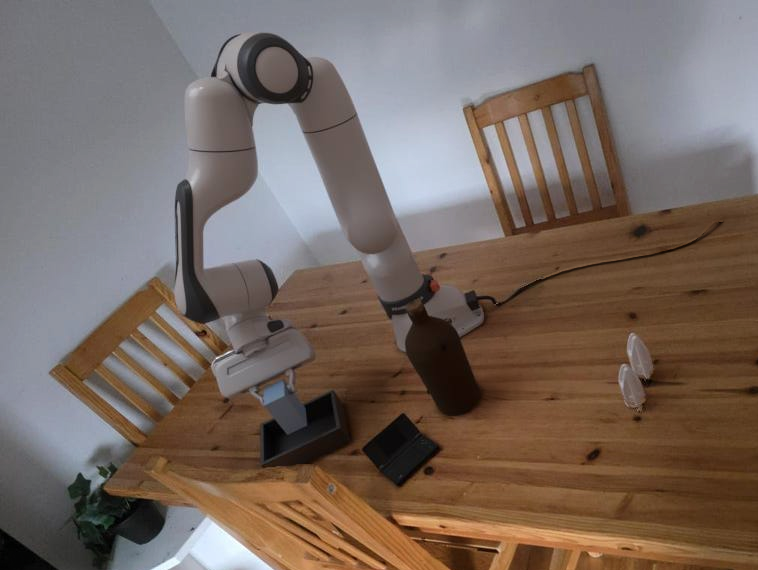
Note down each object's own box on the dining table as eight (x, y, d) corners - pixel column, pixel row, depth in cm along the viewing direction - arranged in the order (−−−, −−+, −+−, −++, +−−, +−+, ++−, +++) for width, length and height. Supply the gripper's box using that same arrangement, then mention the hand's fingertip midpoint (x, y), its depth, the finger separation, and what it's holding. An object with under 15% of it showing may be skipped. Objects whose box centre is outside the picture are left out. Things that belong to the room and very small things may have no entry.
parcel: (305, 408, 128) (283, 378, 122) (307, 425, 123) (284, 395, 118) (286, 417, 128) (263, 388, 122) (287, 435, 123) (263, 405, 117)
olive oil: (490, 382, 124) (449, 285, 109) (472, 420, 118) (425, 322, 103) (447, 380, 129) (401, 288, 114) (427, 417, 123) (376, 323, 108)
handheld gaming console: (403, 484, 108) (367, 442, 108) (390, 491, 114) (356, 451, 114) (445, 445, 115) (411, 405, 114) (430, 453, 121) (399, 415, 120)
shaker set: (636, 364, 115) (626, 320, 108) (658, 365, 113) (650, 320, 106) (620, 410, 107) (608, 365, 101) (643, 412, 105) (633, 367, 99)
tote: (343, 404, 135) (333, 389, 132) (350, 443, 124) (340, 427, 121) (271, 438, 134) (259, 424, 131) (273, 480, 123) (260, 465, 120)
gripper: (200, 358, 120) (227, 421, 118) (293, 314, 121) (321, 375, 119) (215, 362, 126) (240, 422, 124) (303, 321, 127) (329, 379, 125)
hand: (280, 399), depth 122 cm, fingers closed on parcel, 4 cm apart
